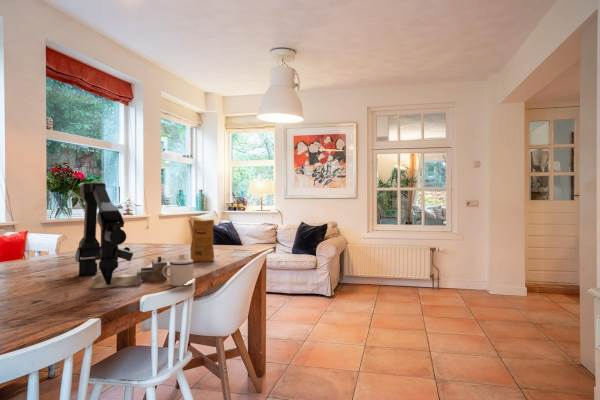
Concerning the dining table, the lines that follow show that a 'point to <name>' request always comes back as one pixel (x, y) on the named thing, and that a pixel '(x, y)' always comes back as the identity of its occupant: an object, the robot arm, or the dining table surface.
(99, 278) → the rail
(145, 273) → the knobbed grey box
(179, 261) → the teacup with lid
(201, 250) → the coffee package
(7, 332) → the dining table surface
